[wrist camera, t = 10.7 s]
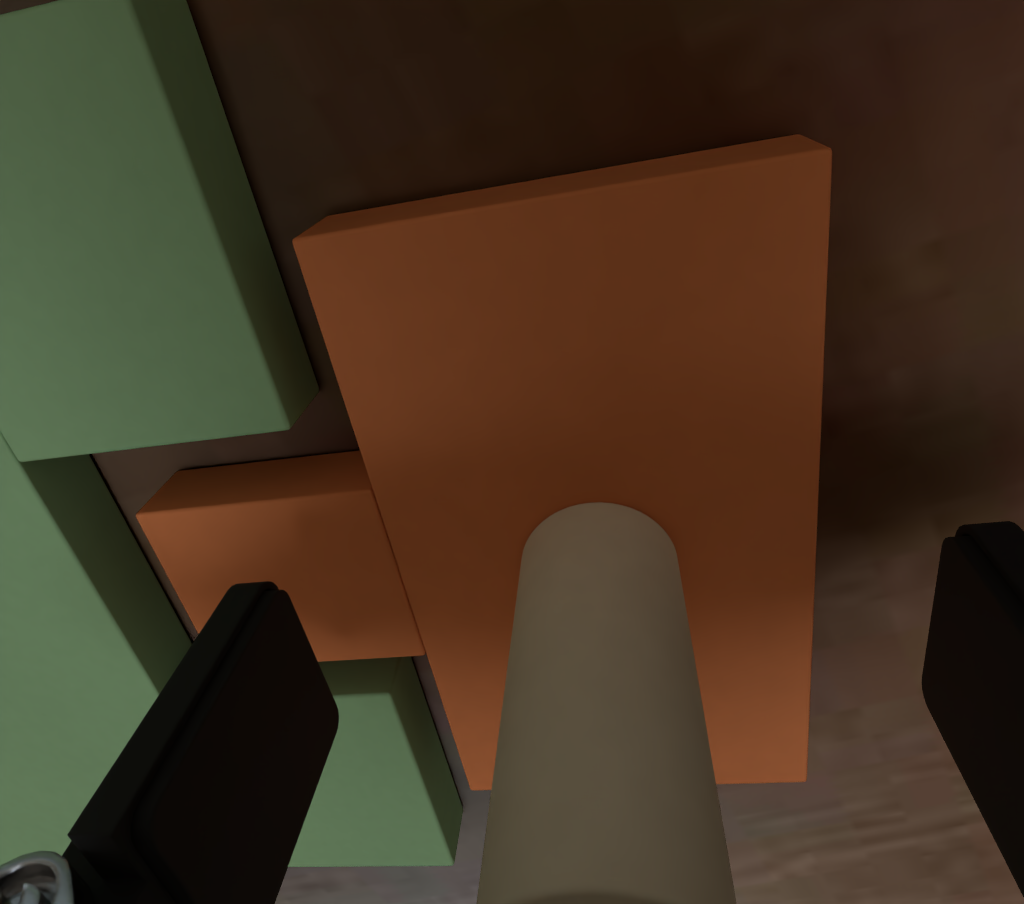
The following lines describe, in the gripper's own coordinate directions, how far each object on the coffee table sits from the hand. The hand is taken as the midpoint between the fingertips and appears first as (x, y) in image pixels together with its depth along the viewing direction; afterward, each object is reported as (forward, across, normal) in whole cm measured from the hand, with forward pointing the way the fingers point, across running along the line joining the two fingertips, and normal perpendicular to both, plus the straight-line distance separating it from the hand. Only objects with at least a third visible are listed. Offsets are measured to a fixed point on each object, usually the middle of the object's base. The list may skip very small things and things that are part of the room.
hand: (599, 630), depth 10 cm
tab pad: (+3, +2, 0) cm, 4 cm away
